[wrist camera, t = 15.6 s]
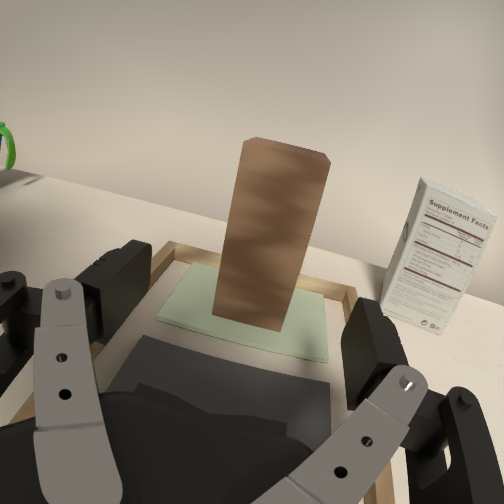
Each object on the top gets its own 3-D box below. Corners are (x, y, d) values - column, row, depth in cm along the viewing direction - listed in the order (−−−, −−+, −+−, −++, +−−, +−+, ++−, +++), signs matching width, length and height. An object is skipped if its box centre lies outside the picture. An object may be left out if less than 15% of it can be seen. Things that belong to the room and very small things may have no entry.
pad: (156, 319, 21) (156, 315, 21) (193, 265, 28) (193, 261, 28) (326, 363, 20) (328, 359, 20) (321, 298, 28) (323, 294, 28)
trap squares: (39, 510, 7) (36, 507, 7) (143, 339, 19) (143, 334, 19) (321, 588, 6) (324, 588, 6) (327, 387, 18) (329, 383, 18)
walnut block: (211, 314, 22) (243, 141, 17) (226, 281, 27) (255, 136, 21) (280, 332, 22) (331, 162, 17) (284, 295, 26) (324, 153, 21)
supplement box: (381, 280, 34) (419, 175, 28) (436, 303, 31) (480, 201, 26) (374, 311, 27) (425, 182, 22) (441, 338, 25) (499, 215, 20)
